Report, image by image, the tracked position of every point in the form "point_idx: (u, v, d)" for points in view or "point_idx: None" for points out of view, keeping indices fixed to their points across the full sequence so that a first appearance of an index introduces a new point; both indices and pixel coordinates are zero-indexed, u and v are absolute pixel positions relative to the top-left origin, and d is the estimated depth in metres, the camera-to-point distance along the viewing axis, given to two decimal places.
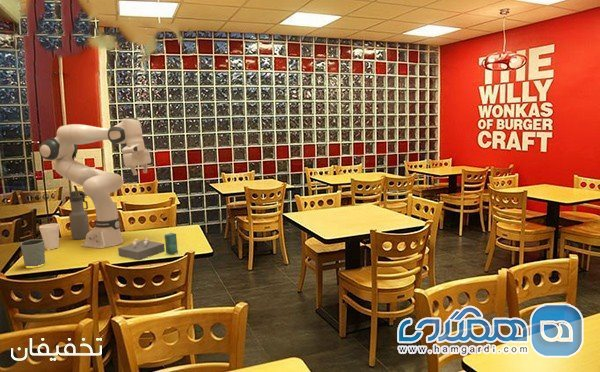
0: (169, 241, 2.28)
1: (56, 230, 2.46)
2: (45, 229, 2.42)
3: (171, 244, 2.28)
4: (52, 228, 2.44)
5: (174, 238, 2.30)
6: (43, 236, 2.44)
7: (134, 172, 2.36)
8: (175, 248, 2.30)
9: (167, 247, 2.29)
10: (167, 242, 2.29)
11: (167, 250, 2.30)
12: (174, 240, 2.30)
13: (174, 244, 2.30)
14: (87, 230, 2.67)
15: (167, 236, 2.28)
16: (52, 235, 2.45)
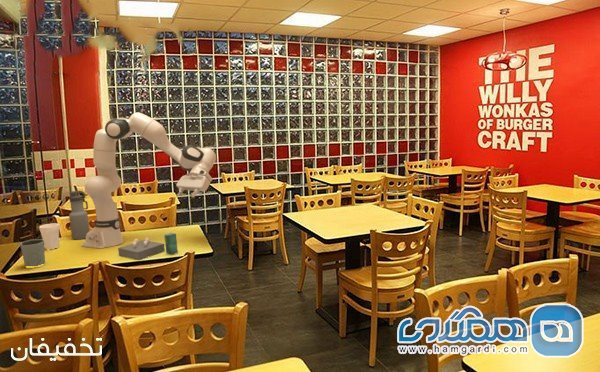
0: (169, 241, 2.28)
1: (56, 230, 2.46)
2: (45, 229, 2.42)
3: (171, 244, 2.28)
4: (52, 228, 2.44)
5: (174, 238, 2.30)
6: (43, 236, 2.44)
7: (194, 194, 2.35)
8: (175, 248, 2.30)
9: (167, 247, 2.29)
10: (167, 242, 2.29)
11: (167, 250, 2.30)
12: (174, 240, 2.30)
13: (174, 244, 2.30)
14: (87, 230, 2.67)
15: (167, 236, 2.28)
16: (52, 235, 2.45)
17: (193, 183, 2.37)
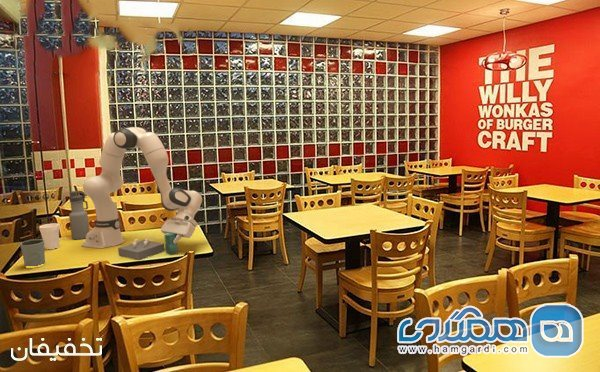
0: (169, 241, 2.28)
1: (56, 230, 2.46)
2: (45, 229, 2.42)
3: (171, 244, 2.28)
4: (52, 228, 2.44)
5: (174, 238, 2.30)
6: (43, 236, 2.44)
7: (176, 240, 2.29)
8: (175, 248, 2.30)
9: (167, 247, 2.29)
10: (167, 242, 2.29)
11: (167, 250, 2.30)
12: None
13: (174, 244, 2.30)
14: (87, 230, 2.67)
15: (167, 236, 2.28)
16: (52, 235, 2.45)
17: (178, 229, 2.30)
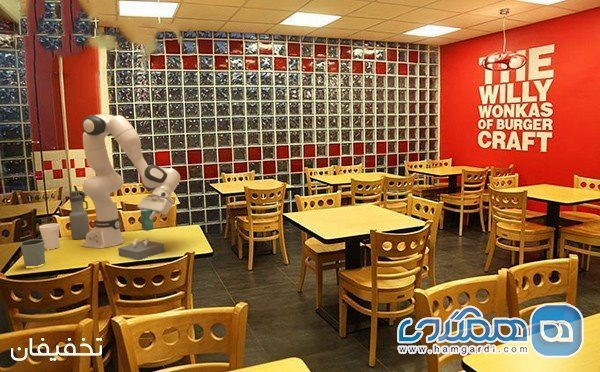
0: (145, 217, 2.27)
1: (56, 230, 2.46)
2: (45, 229, 2.42)
3: (147, 220, 2.28)
4: (52, 228, 2.44)
5: (150, 214, 2.29)
6: (43, 236, 2.44)
7: (152, 217, 2.28)
8: (151, 224, 2.30)
9: (143, 223, 2.29)
10: (143, 218, 2.28)
11: (143, 226, 2.29)
12: None
13: (149, 220, 2.29)
14: (87, 230, 2.67)
15: (143, 212, 2.28)
16: (52, 235, 2.45)
17: (154, 205, 2.30)
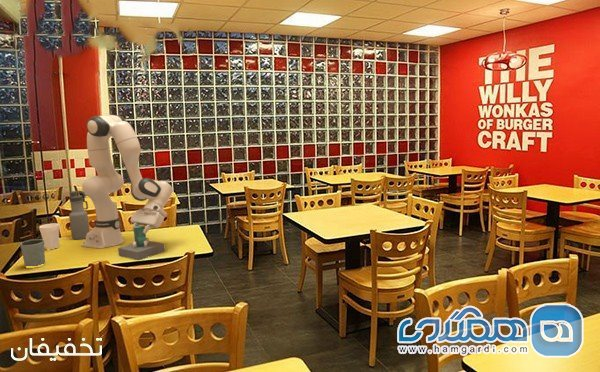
0: (138, 234, 2.29)
1: (56, 230, 2.46)
2: (45, 229, 2.42)
3: (140, 236, 2.30)
4: (52, 228, 2.44)
5: None
6: (43, 236, 2.44)
7: (146, 231, 2.29)
8: (144, 240, 2.32)
9: (136, 239, 2.31)
10: (136, 234, 2.30)
11: (136, 242, 2.31)
12: None
13: (142, 237, 2.31)
14: (87, 230, 2.67)
15: (136, 228, 2.29)
16: (52, 235, 2.45)
17: (147, 219, 2.31)
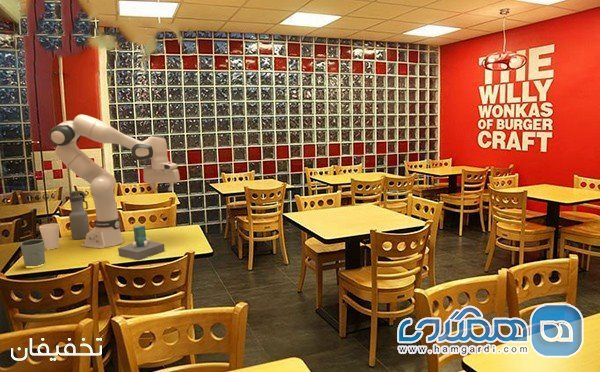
0: (138, 234, 2.29)
1: (56, 230, 2.46)
2: (45, 229, 2.42)
3: (140, 236, 2.30)
4: (52, 228, 2.44)
5: (143, 231, 2.31)
6: (43, 236, 2.44)
7: (171, 188, 2.45)
8: None
9: (136, 240, 2.31)
10: (136, 234, 2.30)
11: (136, 242, 2.31)
12: (143, 233, 2.31)
13: (142, 237, 2.31)
14: (87, 230, 2.67)
15: (136, 229, 2.29)
16: (52, 235, 2.45)
17: (164, 178, 2.43)
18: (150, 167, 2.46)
